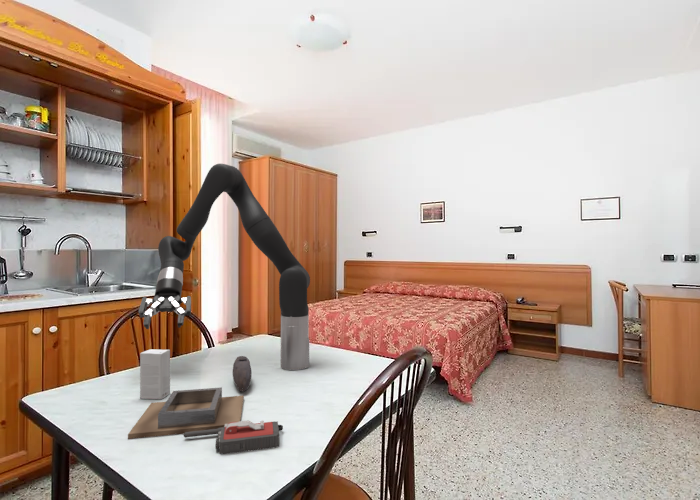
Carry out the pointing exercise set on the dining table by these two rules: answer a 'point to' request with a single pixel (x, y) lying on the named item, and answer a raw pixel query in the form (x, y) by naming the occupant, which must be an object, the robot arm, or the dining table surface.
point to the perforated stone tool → (242, 373)
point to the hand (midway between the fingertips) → (163, 326)
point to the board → (149, 426)
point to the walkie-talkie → (243, 436)
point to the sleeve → (192, 416)
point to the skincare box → (154, 374)
